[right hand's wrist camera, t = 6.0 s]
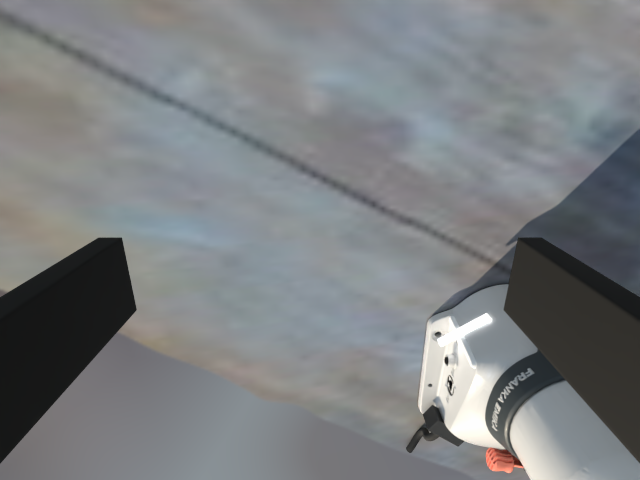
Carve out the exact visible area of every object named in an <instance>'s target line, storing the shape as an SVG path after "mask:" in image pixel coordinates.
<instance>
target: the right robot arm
mask: <svg viewBox="0 0 640 480" xmlns="http://www.w3.org/2000/svg"><path fill="white" fill-rule="evenodd" d="M135 311H136V305H135V300H134V295H133V290H132V285H131V280H130V275H129V270H128V266H127V261H126V256H125V251H124V246H123V241H122V238H97V239H96V240H94V241H92V242H91V243H89V244H87V245H86V246H84V247H83V248H81V249H79V250H78V251H76V252H74V253H73V254H71V255H69V256H68V257H66V258H64V259H63V260H61V261H59V262H58V263H56V264H54V265H53V266H51V267H50V268H48V269H46V270H45V271H43V272H41V273H40V274H38V275H36V276H35V277H33V278H31V279H30V280H28V281H26V282H25V283H23V284H21V285H20V286H18V287H17V288H15V289H13V290H12V291H10V292H8V293H7V294H5V295H3V296H2V297H0V463H1V462H2V461H3V460H4V459H5V458H6V456H7V455H8V454H9V453H10V452H11V451H12V450H13V449H14V447H15V446H16V445H17V444H18V443H19V442H20V441H21V440H22V438H23V437H24V436H25V435H26V434H27V433H28V432H29V430H30V429H31V428H32V427H33V426H34V425H35V424H36V423H37V422H38V420H39V419H40V418H41V417H42V416H43V415H44V414H45V413H46V411H47V410H48V409H49V408H50V407H51V406H52V405H53V404H54V402H55V401H56V400H57V399H58V398H59V397H60V396H61V395H62V393H63V392H64V391H65V390H66V389H67V388H68V387H69V386H70V384H71V383H72V382H73V381H74V380H75V379H76V378H77V377H78V375H79V374H80V373H81V372H82V371H83V370H84V369H85V367H86V366H87V365H88V364H89V363H90V362H91V361H92V360H93V358H94V357H95V356H96V355H97V354H98V353H99V352H100V351H101V350H102V348H103V347H104V346H105V345H106V344H107V343H108V342H109V340H110V339H111V338H112V337H113V336H114V335H115V334H116V333H117V332H118V330H119V329H120V328H121V327H122V326H123V325H124V324H125V323H126V321H127V320H128V319H129V318H130V317H131V316H132V315H133V314H134V312H135ZM504 311H505V312H506V314H507V315H508V316H509V317H510V318H511V319H512V320H513V321H514V323H515V324H516V325H517V326H518V327H519V328H520V329H521V330H522V332H523V333H524V334H525V335H526V336H527V337H528V338H529V339H530V341H531V342H532V343H533V344H534V345H535V346H536V347H537V348H538V350H539V351H540V352H541V353H542V354H543V355H544V356H545V357H546V359H547V360H548V361H549V362H550V363H551V364H552V365H553V366H554V368H555V369H556V370H557V371H558V372H559V373H560V374H561V375H562V377H563V378H564V379H565V380H566V381H567V382H568V383H569V384H570V386H571V387H572V388H573V389H574V390H575V391H576V392H577V393H578V395H579V396H580V397H581V398H582V399H583V400H584V401H585V402H586V404H587V405H588V406H589V407H590V408H591V409H592V410H593V411H594V413H595V414H596V415H597V416H598V417H599V418H600V419H601V420H602V422H603V423H604V424H605V425H606V426H607V427H608V428H609V429H610V431H611V432H612V433H613V434H614V435H615V436H616V437H617V438H618V440H619V441H620V442H621V443H622V444H623V445H624V446H625V447H626V449H627V450H628V451H629V452H630V453H631V454H632V455H633V456H634V458H635V459H636V460H637V461H638V462H639V463H640V297H638V296H637V295H635V294H633V293H632V292H630V291H628V290H627V289H625V288H623V287H622V286H620V285H619V284H617V283H615V282H614V281H612V280H610V279H609V278H607V277H605V276H604V275H602V274H600V273H599V272H597V271H595V270H594V269H592V268H590V267H589V266H587V265H586V264H584V263H582V262H581V261H579V260H577V259H576V258H574V257H572V256H571V255H569V254H567V253H566V252H564V251H562V250H561V249H559V248H557V247H556V246H554V245H553V244H551V243H549V242H548V241H546V240H544V239H543V238H518V241H517V246H516V251H515V256H514V261H513V266H512V270H511V275H510V280H509V285H508V290H507V295H506V300H505V305H504Z"/></svg>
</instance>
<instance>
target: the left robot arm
mask: <svg viewBox="0 0 640 480" xmlns="http://www.w3.org/2000/svg"><path fill="white" fill-rule="evenodd" d="M508 285H509V284H502V285H496V286H492V287H488V288H485V289H482V290H480V291H478V292H476V293H474V294H472V295H471V296H469V297H468V298H466V299H465V300H464V301H462V302H461V303H460V304H458V305H457V306H456V307H454V308H452V309H450V310H447V311H444V312H441V313H438V314H436V315H434V316H432V317H431V318H430V319H429V320H428V323H427V331H426V339H425V348H424V356H423V365H422V373H421V382H420V390H419V399H418V407H419V409H420V411H421V413H423V416H424V419H425V422H426V425H427V428H428V429H427V428H421V429H419V430H418V431H417V432H416V434H415V435H414V436H413V438H412V440H411V441H410V443H409V445H408V446H407V447H406V449H407V451H408V452H409V453H411V452H412V451H413V450H414V448H415V447H416V445H417V443H418V442H419V440H420V439H421V437H422V436H423V437H424V439H425V440H427V441H433V440H435V439H437V438H438V437H439V436H440V437H442V438H443V439H445V440H447V441H449V442H451V443H453V444H454V445H456V446H459V445H461V444H462V443H463V442H464V441H466V442H468V443H472V444H475V445H479V446H484V447H491V448H488V450H487V452H486V457H487V459H486V461H487V463H488V467H489V468H490V469H491V470H492V471H505V472H507V473H510V472H512V470H513V468H514V467H520V468H523V469H524V471H526V472H527V474H528V476H529V477H530V479H531V480H640V463H639V462H638V461H637V460H636V459H635V458H634V456H633V455H632V454H631V453H630V452H629V451H628V450H627V449H626V447H625V446H624V445H623V444H622V443H621V442H620V441H619V440H618V438H617V437H616V436H615V435H614V434H613V433H612V432H611V431H610V429H609V428H608V427H607V426H606V425H605V424H604V423H603V422H602V420H601V419H600V418H599V417H598V416H597V415H596V414H595V413H594V411H593V410H592V409H591V408H590V407H589V406H588V405H587V404H586V402H585V401H584V400H583V399H582V398H581V397H580V396H579V395H578V393H577V392H576V391H575V390H574V389H573V388H572V387H571V386H570V384H569V383H568V382H567V381H566V380H565V379H564V378H563V377H562V375H561V374H560V373H559V372H558V371H557V370H556V369H555V368H554V366H553V365H552V364H551V363H550V362H549V361H548V360H547V359H546V357H545V356H544V355H543V354H542V353H541V352H540V351H539V350H538V348H537V347H536V346H535V345H534V344H533V343H532V342H531V341H530V339H529V338H528V337H527V336H526V335H525V334H524V333H523V332H522V330H521V329H520V328H519V327H518V326H517V325H516V324H515V323H514V321H513V320H512V319H511V318H510V317H509V316H508V315H507V314H506V312H505V311H504V305H505V300H506V295H507V290H508ZM436 332H439V333H438V334H435V333H436ZM428 430H429V431H430V432H431V433H429V431H428ZM496 448H501V449H506V450H498V449H496Z"/></svg>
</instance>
